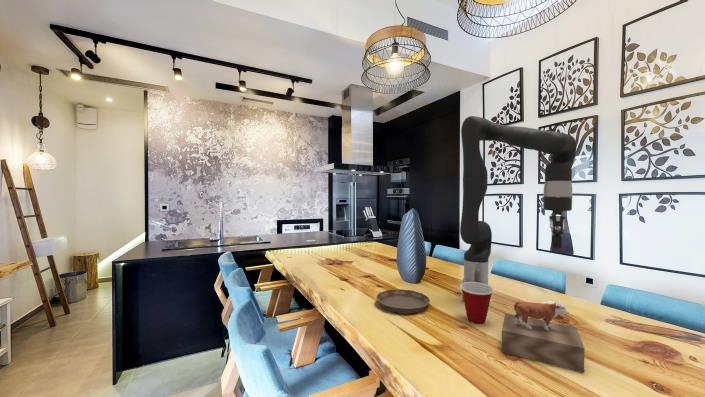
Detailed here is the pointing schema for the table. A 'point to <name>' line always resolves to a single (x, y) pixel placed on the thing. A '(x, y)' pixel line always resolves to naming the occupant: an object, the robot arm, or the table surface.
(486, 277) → the robot arm
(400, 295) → the plant saucer
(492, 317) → the table surface
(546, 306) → the bull figurine
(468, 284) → the plastic cup
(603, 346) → the table surface
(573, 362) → the walnut block
